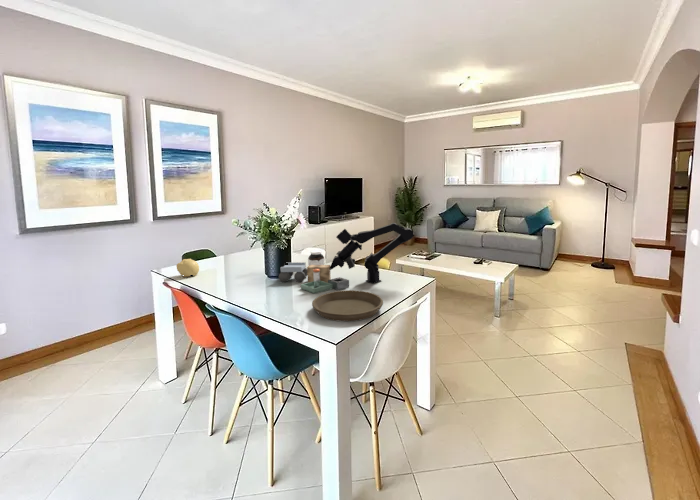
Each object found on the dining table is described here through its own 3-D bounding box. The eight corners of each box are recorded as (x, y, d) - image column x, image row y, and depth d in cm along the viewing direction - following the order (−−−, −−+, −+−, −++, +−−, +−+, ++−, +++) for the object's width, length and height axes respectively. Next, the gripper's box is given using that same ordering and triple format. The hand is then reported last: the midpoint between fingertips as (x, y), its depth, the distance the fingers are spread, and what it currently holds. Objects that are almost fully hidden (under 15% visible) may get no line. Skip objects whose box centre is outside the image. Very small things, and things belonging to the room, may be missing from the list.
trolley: (308, 276, 220) (308, 262, 219) (304, 282, 208) (304, 267, 207) (284, 276, 221) (283, 262, 220) (278, 282, 210) (277, 267, 208)
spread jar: (320, 266, 245) (319, 249, 243) (329, 269, 236) (328, 252, 234) (304, 269, 238) (303, 251, 236) (313, 272, 229) (312, 254, 227)
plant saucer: (363, 329, 142) (362, 318, 141) (298, 316, 157) (297, 306, 156) (394, 304, 168) (394, 295, 168) (336, 296, 183) (335, 287, 182)
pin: (321, 287, 195) (321, 269, 193) (316, 289, 193) (315, 270, 190) (317, 286, 198) (317, 268, 195) (312, 287, 195) (311, 269, 193)
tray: (332, 288, 194) (332, 284, 194) (314, 293, 187) (313, 289, 186) (319, 284, 203) (319, 280, 203) (301, 288, 196) (300, 284, 195)
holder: (349, 287, 197) (349, 280, 196) (337, 290, 191) (337, 283, 191) (339, 284, 203) (339, 277, 202) (328, 287, 197) (327, 280, 197)
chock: (330, 280, 212) (330, 264, 210) (329, 283, 206) (328, 267, 204) (310, 280, 213) (309, 264, 211) (307, 283, 207) (307, 267, 205)
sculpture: (187, 273, 237) (185, 256, 235) (203, 274, 233) (201, 257, 231) (174, 277, 226) (172, 260, 224) (191, 278, 223) (189, 261, 221)
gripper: (358, 263, 196) (338, 283, 199) (360, 256, 214) (341, 274, 217) (343, 249, 195) (323, 269, 198) (346, 243, 213) (328, 261, 216)
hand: (330, 269), depth 207 cm, fingers closed, pressing on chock
